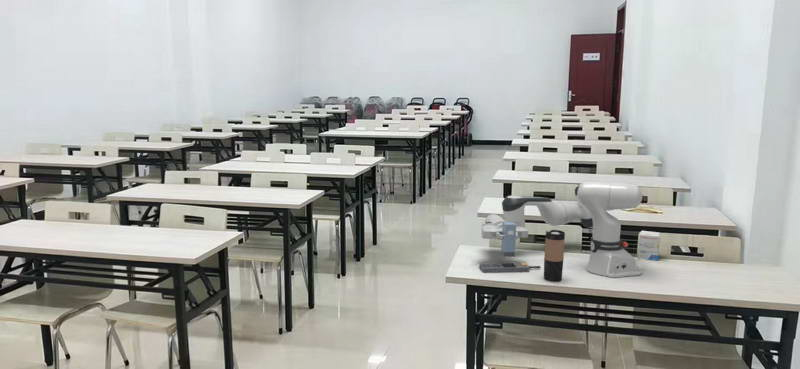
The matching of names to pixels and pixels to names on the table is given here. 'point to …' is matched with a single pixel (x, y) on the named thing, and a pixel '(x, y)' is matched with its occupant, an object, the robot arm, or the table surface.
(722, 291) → the table surface
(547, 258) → the travel mug
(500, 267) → the power strip
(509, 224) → the blue rectangular block
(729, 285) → the table surface
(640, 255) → the ink box
